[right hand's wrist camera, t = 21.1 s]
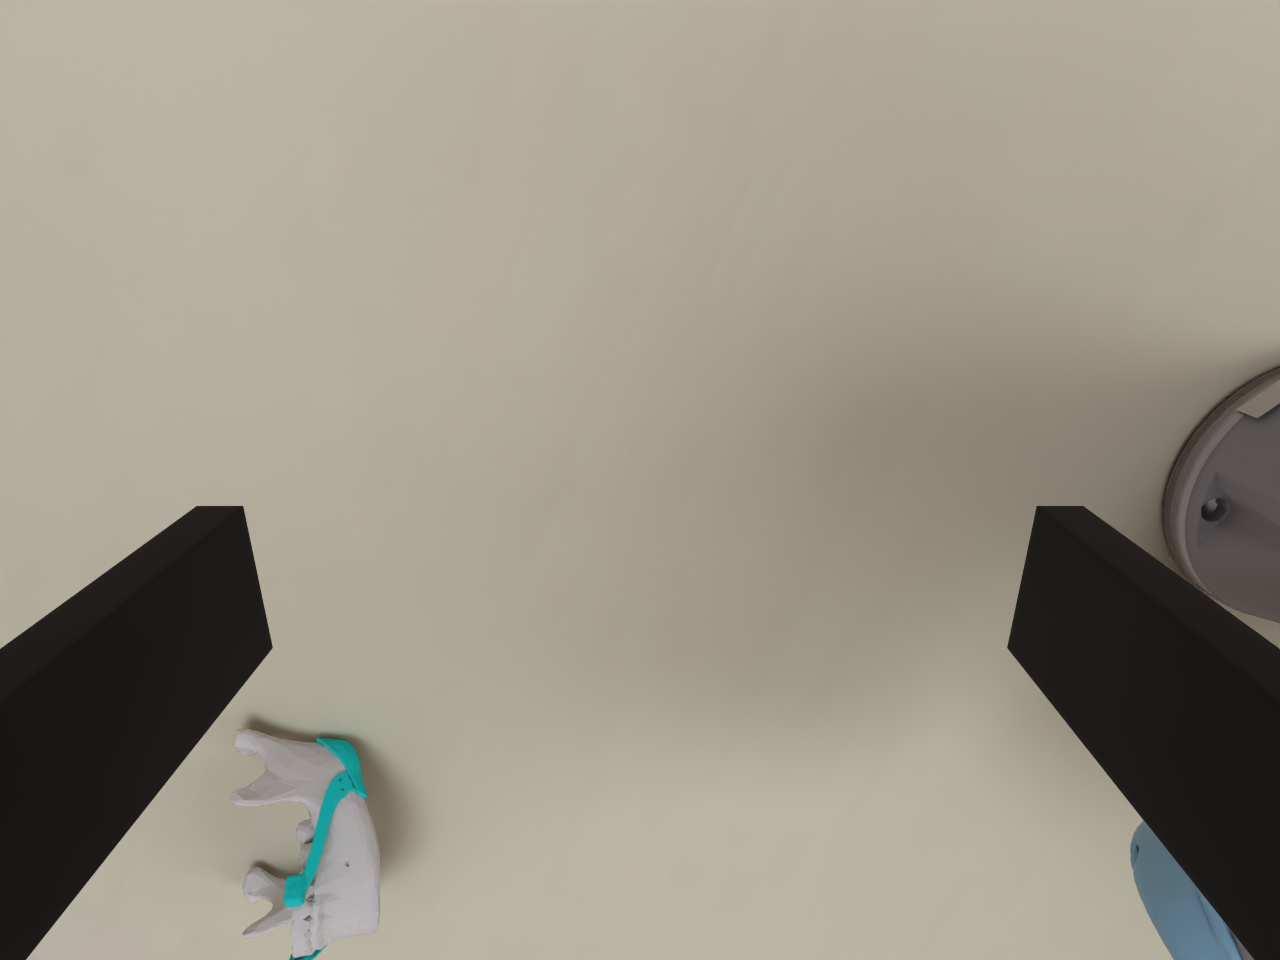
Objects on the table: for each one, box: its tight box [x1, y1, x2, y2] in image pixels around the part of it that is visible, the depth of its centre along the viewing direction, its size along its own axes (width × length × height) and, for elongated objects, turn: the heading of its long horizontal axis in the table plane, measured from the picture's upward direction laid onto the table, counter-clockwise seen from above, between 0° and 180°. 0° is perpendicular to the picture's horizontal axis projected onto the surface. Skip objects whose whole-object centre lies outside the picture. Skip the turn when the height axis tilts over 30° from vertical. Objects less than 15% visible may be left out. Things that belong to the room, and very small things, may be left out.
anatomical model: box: [230, 729, 381, 960], centre depth 48 cm, size 15×10×10 cm
